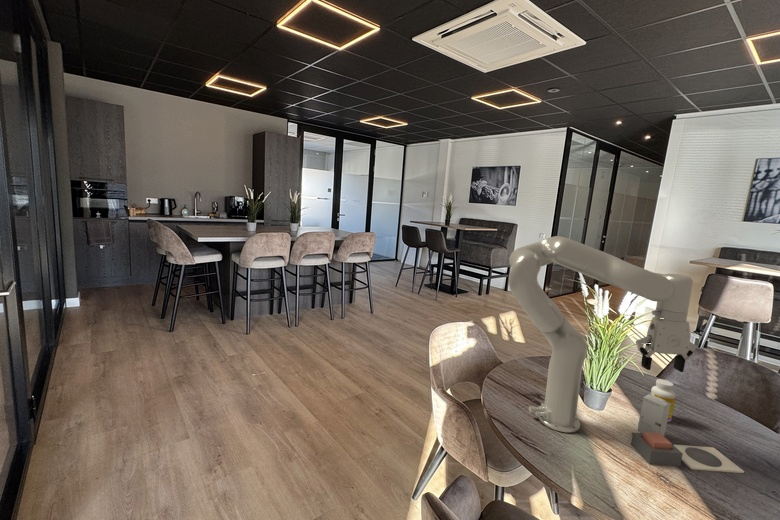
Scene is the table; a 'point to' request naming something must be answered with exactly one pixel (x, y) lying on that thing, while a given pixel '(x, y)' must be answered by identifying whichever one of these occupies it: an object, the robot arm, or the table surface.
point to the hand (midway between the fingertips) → (661, 369)
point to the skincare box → (653, 415)
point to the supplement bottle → (664, 394)
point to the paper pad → (706, 459)
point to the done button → (656, 440)
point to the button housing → (656, 452)
